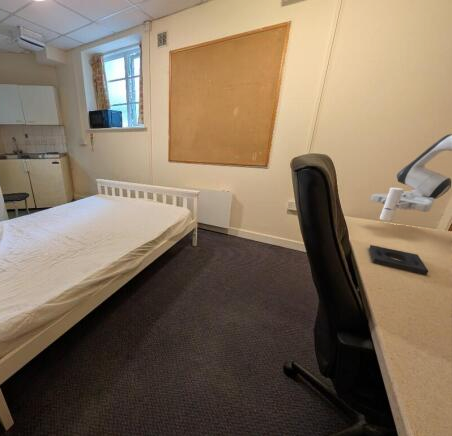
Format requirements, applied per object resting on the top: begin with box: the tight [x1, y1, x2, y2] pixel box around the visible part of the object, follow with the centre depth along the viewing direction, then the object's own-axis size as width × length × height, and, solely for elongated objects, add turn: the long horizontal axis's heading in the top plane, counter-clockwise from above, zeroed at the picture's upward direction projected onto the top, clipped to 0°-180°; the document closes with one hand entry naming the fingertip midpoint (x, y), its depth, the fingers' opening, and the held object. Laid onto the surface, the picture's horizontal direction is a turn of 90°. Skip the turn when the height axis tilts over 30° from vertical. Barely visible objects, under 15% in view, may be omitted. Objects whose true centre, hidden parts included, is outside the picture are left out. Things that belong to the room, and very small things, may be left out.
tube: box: [379, 187, 405, 222], centre depth 102 cm, size 4×4×15 cm
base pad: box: [368, 244, 429, 276], centre depth 86 cm, size 14×14×2 cm
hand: (390, 203), depth 102 cm, fingers closed on tube, 4 cm apart
